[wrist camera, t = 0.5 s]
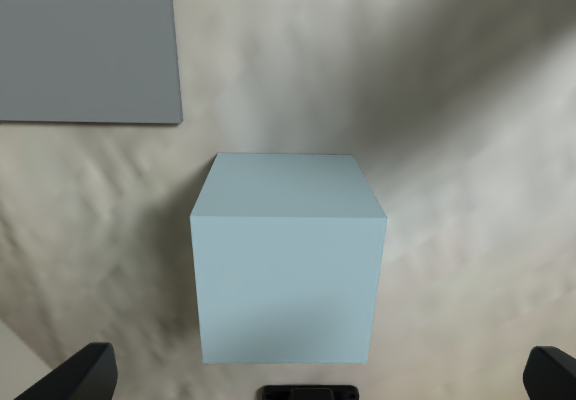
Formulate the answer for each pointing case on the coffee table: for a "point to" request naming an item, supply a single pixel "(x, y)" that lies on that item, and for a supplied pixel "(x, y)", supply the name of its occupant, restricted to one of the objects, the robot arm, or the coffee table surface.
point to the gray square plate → (89, 61)
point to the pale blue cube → (286, 259)
